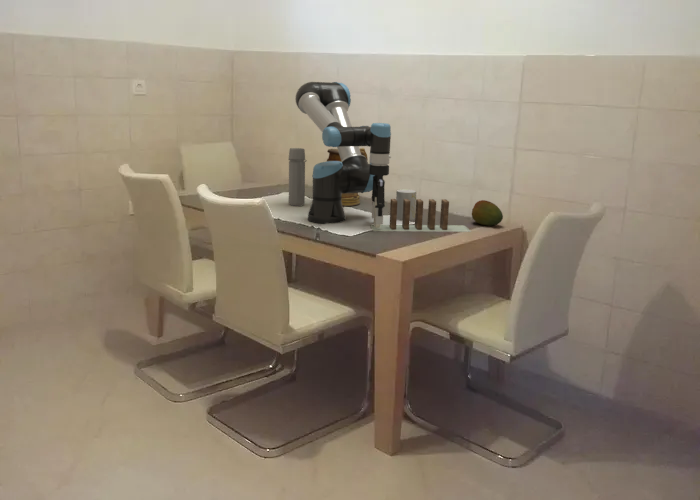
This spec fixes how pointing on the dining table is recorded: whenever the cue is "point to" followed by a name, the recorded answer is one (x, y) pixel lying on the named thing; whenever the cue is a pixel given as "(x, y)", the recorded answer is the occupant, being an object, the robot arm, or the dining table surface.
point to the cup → (399, 197)
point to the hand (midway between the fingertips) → (377, 221)
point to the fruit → (486, 213)
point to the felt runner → (423, 228)
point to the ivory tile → (375, 215)
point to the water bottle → (296, 176)
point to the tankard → (346, 198)
